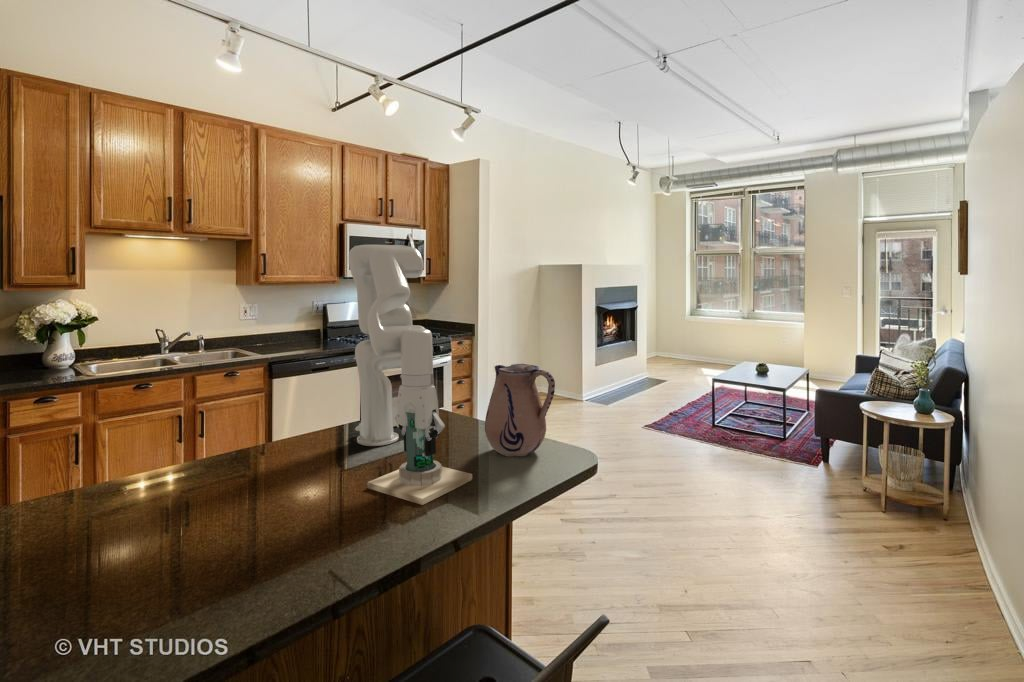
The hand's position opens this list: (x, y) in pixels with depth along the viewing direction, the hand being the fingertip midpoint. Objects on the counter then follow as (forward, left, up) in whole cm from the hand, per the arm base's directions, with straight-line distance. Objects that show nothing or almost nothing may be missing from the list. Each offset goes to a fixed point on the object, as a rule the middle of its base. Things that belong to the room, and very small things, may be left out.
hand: (420, 451), depth 135 cm
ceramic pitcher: (+8, +33, -8) cm, 35 cm away
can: (0, 0, -5) cm, 5 cm away
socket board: (0, 0, -8) cm, 8 cm away
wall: (-43, +39, -9) cm, 59 cm away
